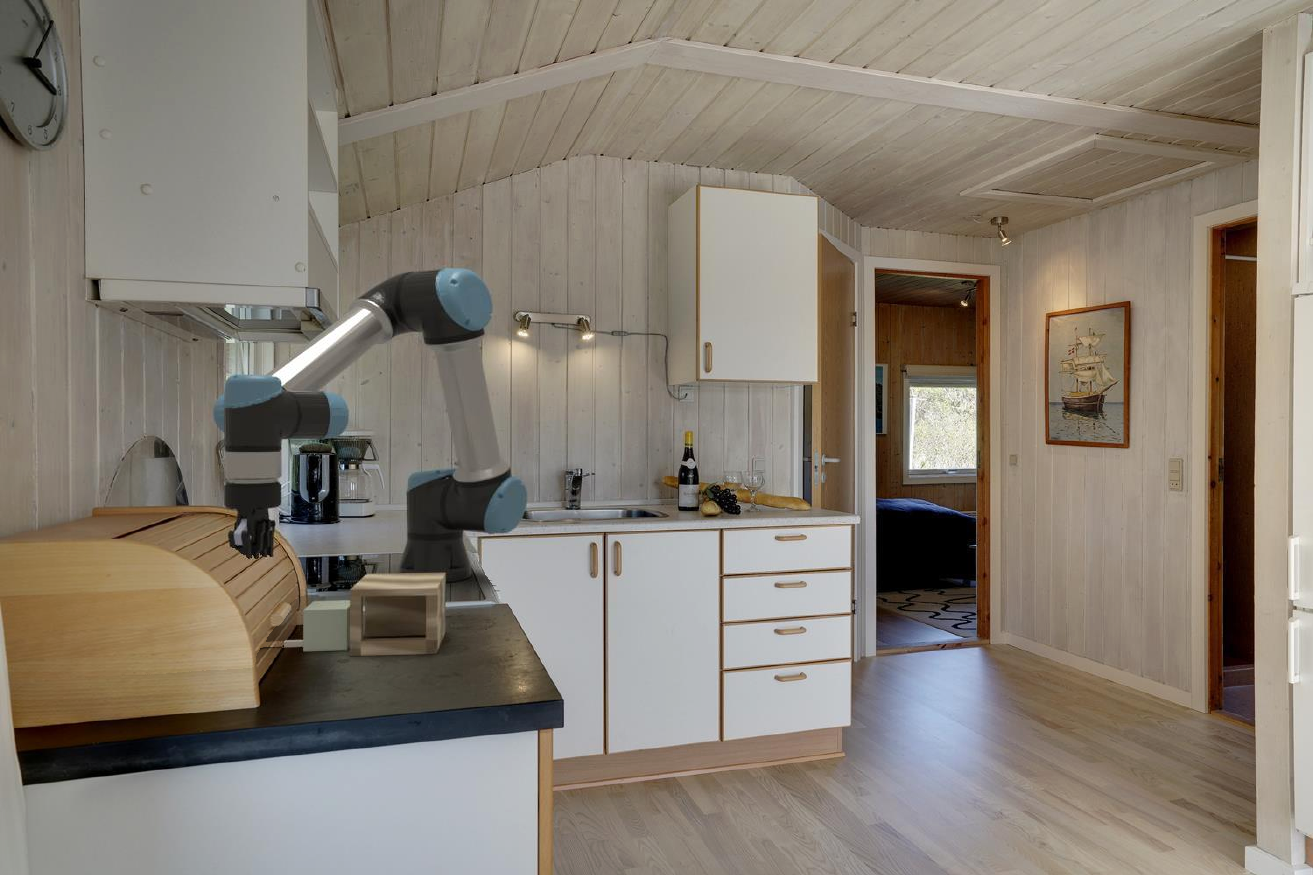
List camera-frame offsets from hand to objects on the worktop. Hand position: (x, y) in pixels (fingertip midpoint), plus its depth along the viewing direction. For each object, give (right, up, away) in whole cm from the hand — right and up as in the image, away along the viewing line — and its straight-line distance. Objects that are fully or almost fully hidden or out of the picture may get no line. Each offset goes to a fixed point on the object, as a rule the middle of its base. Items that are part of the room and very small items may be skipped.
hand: (252, 640), depth 121 cm
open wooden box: (+21, -1, +3) cm, 21 cm away
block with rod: (+6, -1, +1) cm, 6 cm away
